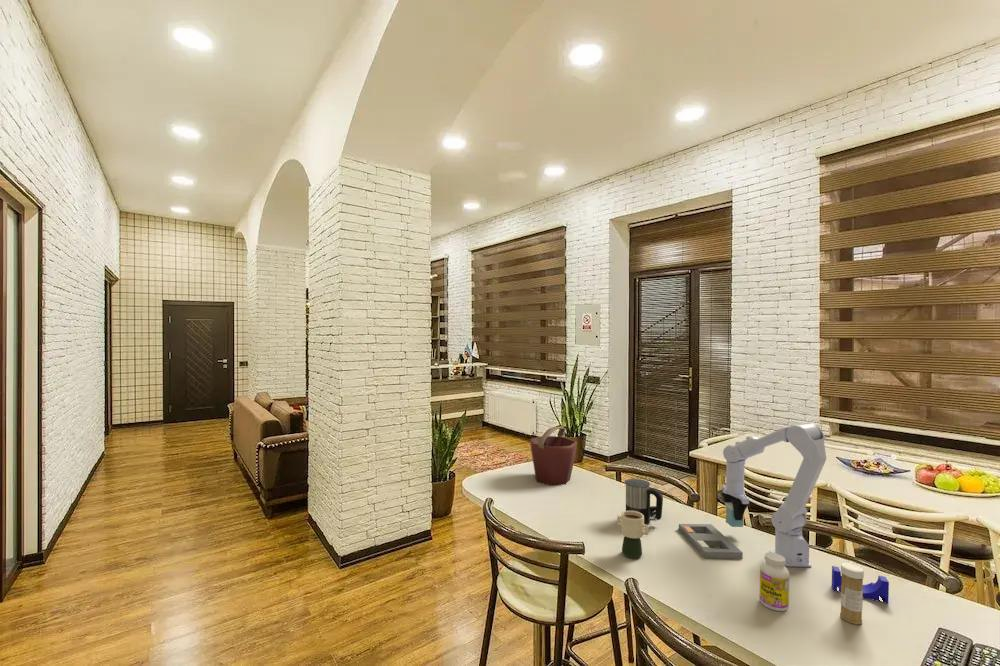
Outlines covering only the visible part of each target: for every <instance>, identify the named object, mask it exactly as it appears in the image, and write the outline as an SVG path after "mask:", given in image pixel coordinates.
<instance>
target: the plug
mask: <svg viewBox="0 0 1000 666" xmlns="http://www.w3.org/2000/svg"><path fill="white" fill-rule="evenodd" d="M724 505H725V508H726V509H725V523H727V524H728V525H729V526H730V527H733V528H743V527H744V517H743V518H742V520H735V517H734V509H733V505H732V502H725V501H724Z"/></svg>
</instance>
